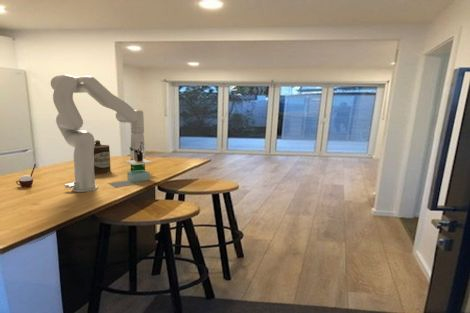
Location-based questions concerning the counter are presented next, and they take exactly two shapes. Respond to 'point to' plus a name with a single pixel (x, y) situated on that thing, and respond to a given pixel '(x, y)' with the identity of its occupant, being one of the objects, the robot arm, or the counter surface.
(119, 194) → the counter surface
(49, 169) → the counter surface
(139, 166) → the milk carton
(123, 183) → the mat
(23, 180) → the cocoa
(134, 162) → the lid
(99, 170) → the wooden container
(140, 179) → the dish
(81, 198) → the counter surface
